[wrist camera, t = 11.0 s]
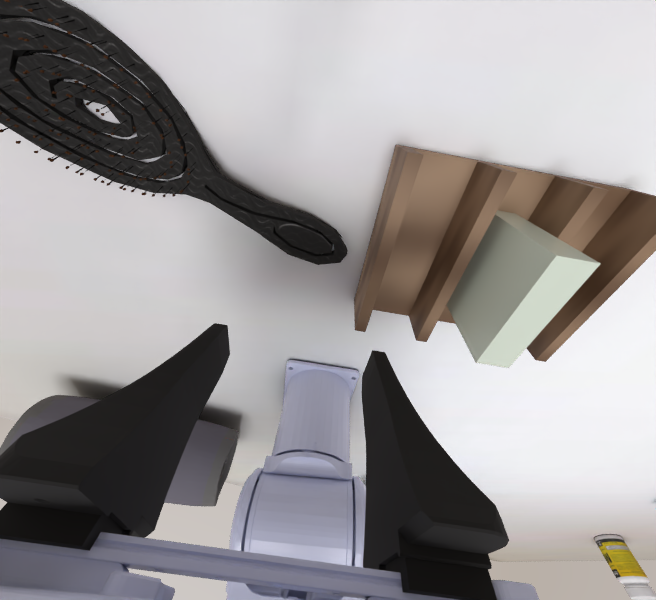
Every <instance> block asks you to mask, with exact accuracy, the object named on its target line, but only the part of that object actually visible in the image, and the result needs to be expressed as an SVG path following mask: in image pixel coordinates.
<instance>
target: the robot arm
mask: <svg viewBox="0 0 656 600" xmlns="http://www.w3.org/2000/svg"><path fill="white" fill-rule="evenodd" d="M229 355H230V350H229V338H228V327H227V325H222V324H216V323H215V324H213V325H212V326H211V327H209V328H208V329H207V330H206V331H204V332H203V333H202V334H201V335H200V336H198V337H197V338H196V339H195V340H193V341H192V342H191V343H190V344H188V345H187V346H186V347H184V348H183V349H182V350H181V351H179V352H178V353H177V354H175V355H174V356H173V357H171V358H170V359H168V360H167V361H165V362H164V363H163V364H161V365H160V366H158V367H157V368H155V369H154V370H152V371H151V372H149V373H148V374H146V375H145V376H143V377H141V378H140V379H138V380H136V381H135V382H133V383H131V384H130V385H128V386H126V387H124V388H123V389H121V390H119V391H117V392H115V393H113V394H112V395H110V396H108V397H106V398H104V399H102V400H100V401H98V402H96V403H94V404H92V405H90V406H88V407H86V408H84V409H82V410H79V411H77V412H75V413H73V414H71V415H69V416H66V417H64V418H62V419H59V420H57V421H55V422H52V423H50V424H48V425H45V426H43V427H40V428H38V429H36V430H33V431H31V432H28V433H26V434H23V435H21V436H20V437H19V438H18V439H17V440H16V441H15V442H14V443H13V444H12V445H10V446H9V447H8V448H7V449H6V450H5V451H4V452H3V453H2V454H1V455H0V498H1V499H3V500H5V501H6V502H7V504H6V505H5V506H4V507H3V508H2V509H1V510H0V600H172V598H173V596H174V593H175V589H174V588H172V587H169V586H167V585H164V584H163V583H162V582H161V579H158V578H153V577H147V576H143V575H139V574H134V573H129V570H128V568H132V569H139V570H147V571H154V572H162V573H170V574H178V575H185V576H192V577H201V578H208V579H215V580H224V581H227V586H226V592H227V599H226V600H539V598H538V595H537V593H536V590H535V588H534V586H532V585H531V584H526V583H519V582H512V581H505V580H491V578H490V575H489V572H488V569H491V562H490V559H489V556H488V554H489V553H491V552H494V551H496V550H498V549H501V548H503V547H505V546H506V545H507V543H508V541H509V539H508V536H507V533H506V531H505V528H504V525H503V522H502V519H501V517H500V515H499V512H498V510H497V508H496V506H495V504H494V503H493V502H492V501H491V500H490V499H489V498H488V497H487V496H486V495H485V494H484V493H483V492H482V491H481V490H480V489H479V488H478V487H477V486H476V485H475V484H474V483H473V482H472V481H471V480H470V479H469V478H468V477H467V476H466V475H465V474H464V472H463V471H462V470H461V469H460V468H459V467H458V466H457V465H456V464H455V462H454V461H453V460H452V459H451V458H450V456H449V455H448V454H447V453H446V451H445V450H444V449H443V448H442V447H441V445H440V444H439V443H438V442H437V440H436V439H435V438H434V436H433V435H432V434H431V432H430V431H429V430H428V428H427V427H426V425H425V424H424V422H423V421H422V419H421V418H420V416H419V415H418V413H417V412H416V410H415V409H414V407H413V405H412V404H411V402H410V400H409V399H408V397H407V395H406V393H405V392H404V390H403V388H402V386H401V384H400V382H399V380H398V379H397V377H396V375H395V373H394V371H393V368H392V366H391V364H390V362H389V360H388V358H387V356H386V354H385V352H379V351H373V350H372V353H371V356H370V358H369V361H368V363H367V366H366V368H365V371H364V373H363V376H362V404H363V415H364V426H365V437H366V486H365V485H364V484H363V482H362V481H361V479H360V477H358V476H353V478H352V464H351V463H350V400H351V397H352V394H353V391H354V389H355V386H356V383H357V380H358V378H359V372H358V371H357V370H352V369H346V368H340V367H333V366H327V365H321V364H315V363H308V362H302V361H296V360H288V361H287V365H286V376H285V387H284V398H283V409H282V413H281V418H280V422H279V426H278V431H277V435H276V439H275V444H274V448H273V452H272V456H267V457H266V460H265V464H264V468H257V469H256V470H255V471H254V472H253V473H252V474H251V475H250V476H249V477H248V479H247V480H246V482H245V484H244V486H243V488H242V491H241V493H240V496H239V500H238V503H237V506H236V510H235V514H234V519H233V523H232V529H231V536H230V549H222V548H215V547H207V546H200V545H193V544H186V543H177V542H171V541H164V540H156V539H149V538H145V537H146V536H148V535H149V534H150V533H151V532H152V531H154V530H155V527H156V524H157V520H158V518H159V515H160V512H161V510H162V507H163V504H164V501H165V498H166V496H167V493H168V490H169V488H170V485H171V482H172V480H173V477H174V475H175V472H176V469H177V467H178V464H179V462H180V459H181V457H182V454H183V452H184V449H185V447H186V445H187V442H188V440H189V438H190V435H191V433H192V431H193V428H194V426H195V424H196V422H197V420H198V418H199V416H200V414H201V412H202V410H203V408H204V406H205V404H206V403H207V401H208V399H209V397H210V395H211V393H212V392H213V390H214V388H215V386H216V384H217V382H218V380H219V379H220V377H221V375H222V373H223V370H224V368H225V365H226V363H227V360H228V358H229Z"/></svg>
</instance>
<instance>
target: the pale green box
mask: <svg viewBox="0 0 656 600" xmlns="http://www.w3.org/2000/svg"><path fill="white" fill-rule="evenodd" d="M600 264H601V263H599V262H597V261H596V260H594V259H592V258H590V257H589V256H587V255H585V254H584V253H582V252H580V251H579V250H577V249H575V248H573V247H572V246H570V245H568V244H567V243H565V242H563V241H561V240H560V239H558V238H556V237H555V236H553V235H551V234H550V233H548V232H546V231H544V230H543V229H541V228H539V227H538V226H536V225H534V224H532V223H531V222H529V221H527V220H526V219H524V218H522V217H521V216H519V215H517V214H515V213H510V212H504V211H499V210H497V212H496V214H495V216H494V218H493V219H492V221H491V223H490V225H489V227H488V229H487V231H486V232H485V234H484V236H483V238H482V240H481V242H480V243H479V245H478V247H477V249H476V251H475V253H474V255H473V256H472V258H471V260H470V262H469V264H468V266H467V268H466V269H465V271H464V273H463V275H462V277H461V279H460V280H459V282H458V284H457V286H456V288H455V290H454V292H453V293H452V295H451V297H450V299H449V301H448V303H447V307H448V309H449V311H450V313H451V315H452V317H453V319H454V321H455V323H456V325H457V327H458V329H459V331H460V333H461V335H462V337H463V338H464V340H465V342H466V344H467V346H468V348H469V350H470V352H471V354H472V356H473V358H474V360H475V362H476V363H481V364H487V365H493V366H499V367H505V368H509V367H510V366H511V365H512V364H513V363H514V361H515V360H516V359H517V358H518V357H519V356H520V355H521V354H522V352H523V351H524V350H525V349H526V348H527V347H528V346H529V345H530V343H531V342H532V341H533V340H534V339H535V338H536V337H537V335H538V334H539V333H540V332H541V331H542V330H543V329H544V328H545V326H546V325H547V324H548V323H549V322H550V321H551V320H552V318H553V317H554V316H555V315H556V314H557V313H558V312H559V311H560V309H561V308H562V307H563V306H564V305H565V304H566V303H567V301H568V300H569V299H570V298H571V297H572V296H573V295H574V294H575V292H576V291H577V290H578V289H579V288H580V287H581V286H582V285H583V283H584V282H585V281H586V280H587V279H588V278H589V277H590V275H591V274H592V273H593V272H594V271H595V270H596V269H597V268H598V266H599V265H600Z"/></svg>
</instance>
